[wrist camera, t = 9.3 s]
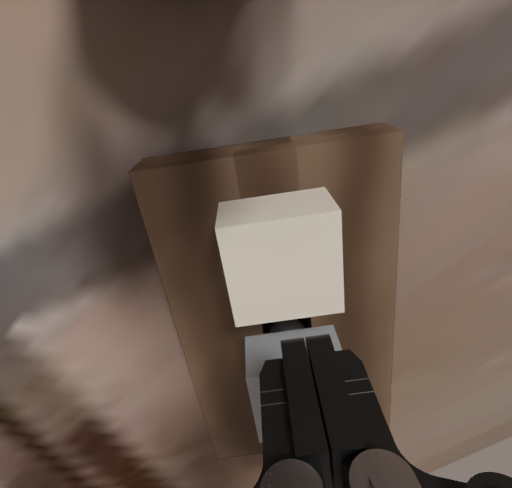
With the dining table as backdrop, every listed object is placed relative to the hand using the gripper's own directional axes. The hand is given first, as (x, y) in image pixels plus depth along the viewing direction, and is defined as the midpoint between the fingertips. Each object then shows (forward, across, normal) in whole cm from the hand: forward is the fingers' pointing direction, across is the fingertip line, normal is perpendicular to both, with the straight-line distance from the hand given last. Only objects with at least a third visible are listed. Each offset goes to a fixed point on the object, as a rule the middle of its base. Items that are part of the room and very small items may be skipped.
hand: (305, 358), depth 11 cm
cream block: (+10, 0, 0) cm, 10 cm away
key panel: (+13, 0, +8) cm, 15 cm away
